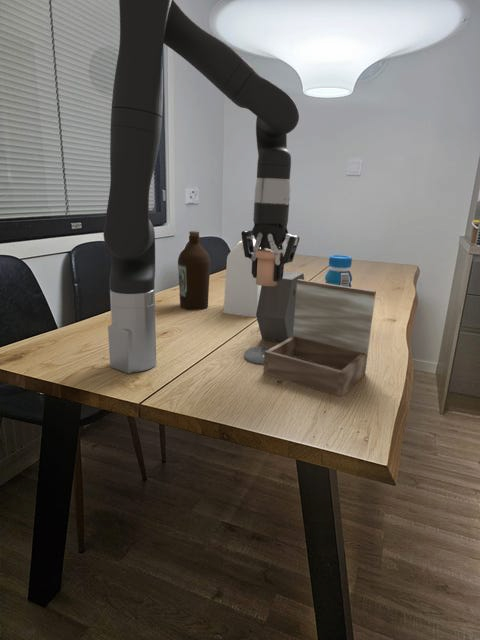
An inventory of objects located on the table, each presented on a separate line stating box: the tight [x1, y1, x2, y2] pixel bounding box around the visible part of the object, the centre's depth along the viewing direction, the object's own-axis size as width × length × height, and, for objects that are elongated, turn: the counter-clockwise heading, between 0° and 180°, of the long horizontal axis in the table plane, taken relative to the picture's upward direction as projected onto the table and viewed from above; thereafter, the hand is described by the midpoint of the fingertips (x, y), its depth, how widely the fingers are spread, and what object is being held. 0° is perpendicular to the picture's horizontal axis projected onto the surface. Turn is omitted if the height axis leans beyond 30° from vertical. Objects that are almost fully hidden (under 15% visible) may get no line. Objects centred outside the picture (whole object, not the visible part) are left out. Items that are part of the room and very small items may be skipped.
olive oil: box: [177, 230, 211, 311], centre depth 139 cm, size 11×11×25 cm
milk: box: [223, 230, 261, 318], centre depth 137 cm, size 12×12×26 cm
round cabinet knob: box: [255, 248, 281, 286], centre depth 95 cm, size 6×6×8 cm
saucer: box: [243, 346, 271, 365], centre depth 101 cm, size 9×9×1 cm
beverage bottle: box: [324, 254, 353, 287], centre depth 131 cm, size 8×8×20 cm
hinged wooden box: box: [262, 279, 377, 398], centre depth 90 cm, size 14×18×19 cm
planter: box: [255, 270, 305, 343], centre depth 114 cm, size 17×8×21 cm
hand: (266, 278), depth 96 cm, fingers closed on round cabinet knob, 4 cm apart
